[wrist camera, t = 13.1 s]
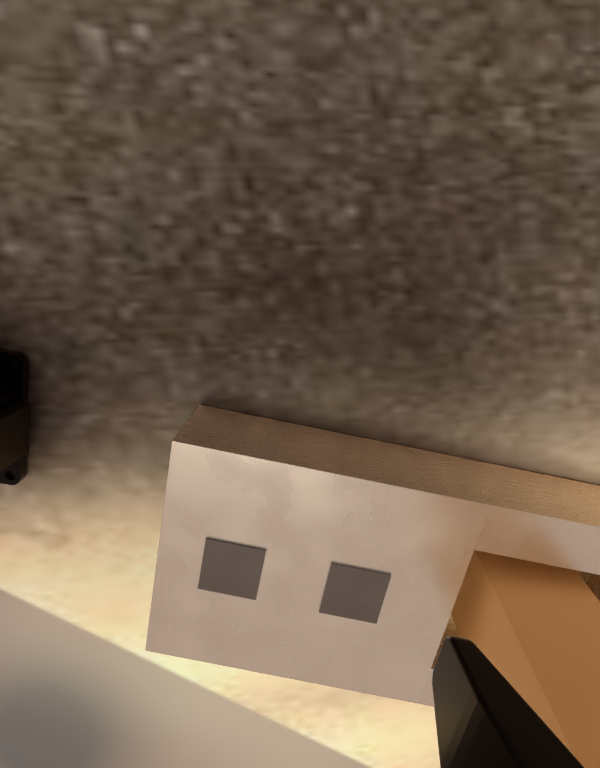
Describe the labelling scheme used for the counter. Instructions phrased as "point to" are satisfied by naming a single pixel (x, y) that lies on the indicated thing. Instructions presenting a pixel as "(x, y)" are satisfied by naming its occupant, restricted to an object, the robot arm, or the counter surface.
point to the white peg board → (341, 549)
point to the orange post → (539, 641)
